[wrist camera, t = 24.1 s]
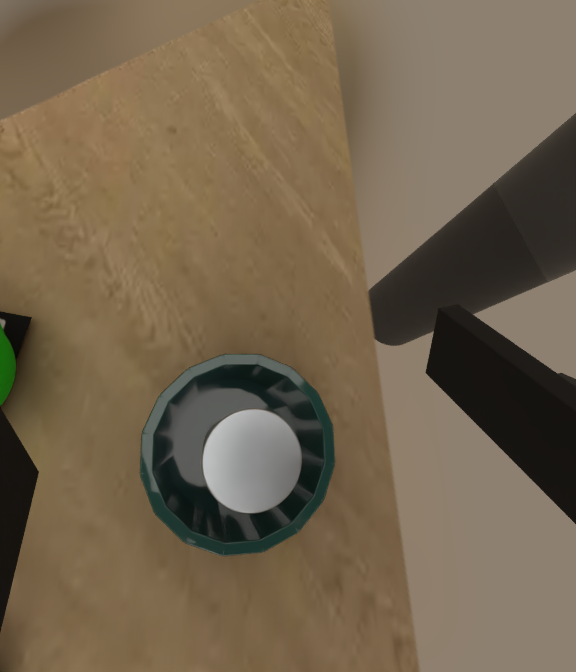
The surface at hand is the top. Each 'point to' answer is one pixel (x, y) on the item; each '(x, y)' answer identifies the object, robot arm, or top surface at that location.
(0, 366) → the toy figure
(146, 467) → the utensil crock
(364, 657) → the top surface
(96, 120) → the top surface
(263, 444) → the silver metal cylinder
